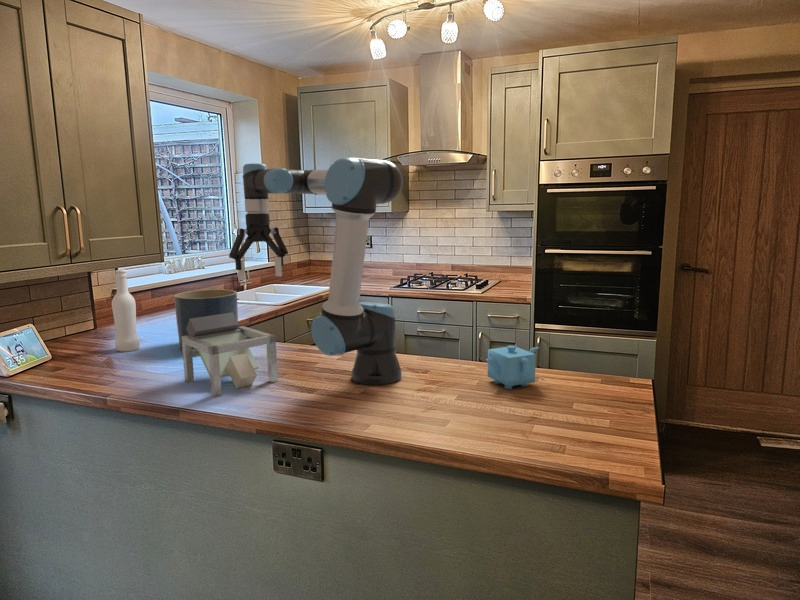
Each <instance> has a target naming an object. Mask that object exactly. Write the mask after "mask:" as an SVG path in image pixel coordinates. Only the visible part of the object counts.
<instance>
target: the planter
mask: <svg viewBox="0 0 800 600" xmlns="http://www.w3.org/2000/svg"><path fill="white" fill-rule="evenodd" d="M173 298H174V306H175V307H174V309H175V317H176V318H175V319H176V326H177V328H176V329H177V335H178V344H179V346H178V347H179V349H180V350H181V351H182V352H183V349H182V337H181V336H187V335H189V334H188V332H187V330H186V328H187V325H188V322H189V319H191V318H198V317H205V316H211V315H218V314H225V313H232V312H233V314H234V315H235V317H236V319H237V321H238V322H239V310H238V293H237V291H236V290H233V289H224V288H223V289H215V288H214V289H199V290H189V291H183V292H180V293H177V294H175V295H174V297H173ZM192 349H196V348H193V347H192Z"/></svg>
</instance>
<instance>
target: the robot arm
mask: <svg viewBox="0 0 800 600" xmlns="http://www.w3.org/2000/svg"><path fill="white" fill-rule="evenodd" d="M242 184H243V195H244V196H243V197H244V211H245V212H246V214H245V226H246V228H237V230H236V237H235V240H234V242H233V245H232V247H231V249H230V253H229V255H228V257H229V259H232V260H235V262H234V263H235V270H237V271H238V281H246V277H245V275H246V274H245V273H246V272H245V271H246V270H245V260H244V259H242V258H243V257H244V256H245V255H246V253H247V252H248V250H249V249H250V247H251V246H252V244H253V243H258V242H261V243H262V242H265V243H266V244H267V245H268V247H269V248H270V249H271V250H272V251H273V253H274V255H276V256H274V265H275V266H274V268H275V277H282V276H283V271H282V268H283V266H284V257H285V256H286V255H288V254H289V251H288V249H287V247H286V245H285V243H284V241H283V239H282V237H281V235H280V231H279V227H278V226H274V227H270V224H271V221H270V213H268V212H270V205H269V203H270V202H269V201H270V200H269V194H270V195H271V194H277V195H278V194H280V195H281V194H284V195H287V194H291V195H292V194H293V195H294V194H297V195H298V194H299V195H301V194H302V195H304V194H305V195H325V196H326V199H327V200H328V201H329V202H330V203H331V210H332V211H333V212H334V213H335V215H336V220H335V228H334V238H333V249H332V259H331V260H332V261H331V270H330V279H329V280H330V281H329V288H328V289H329V290H328V291H329V292H328V299H327V300H326V301H325V302H323V304H321V314H320V315H317V316H315V318H314V319H312V322H311V325H310V331H311V335H312V336H311V337H312V339H313V342H314V343H315V346H316V347H317V349H318V350H319V351H320V352H321V353H322V354H324V355H326V356H332V357H333V356H339V355H340V356H341V355H344V354H346V353H351V352H354V351H356V357H355V361H354V364H353V368H352V369H351V380H352V381H353V382H354V383H357V384H362V385H369V386H381V385H388V384H392V383H397V382H398V381H400V380H401V379H402V368H401V366H400V362H399V359H398V357H397V354H396V320H397V319H396V315H395V313H396V312H395V307H394V306H392V305H391V304H389V303H382V302H371V301H361V302H360V297H361V290H362V281H363V275H364V274H363V272H364V265H365V264H364V263H365V258H366V257H365V256H366V248H367V247H366V246H367V240H368V231H369V223H370V219H371V218H372V217H373V216H374V215H375V214H376V212H377V204H378V205H379V204H380V205H381V204H387V203H390V202H392V201H394V200H395V199H396V198H397V197H399V195H400V194H401V191H402V190H403V186H404V185H403V184H404V178H403V175H402V172H401V170H400V169H399V167H398V166H397V165H396V164H394V163H393V162H392V161H389V160H385V159H371V158H362V157H353V156H351V157H342V158H339V159H337V160H335V161H333V163H332V164H331V165H330V167H329V168H328V169H290V168H283V167H272V168H268V167H267V165H266V164H265V163H255V162H254V163H253V162H252V163H245V164H244V165H243V167H242ZM270 234H272V237H271V236H270ZM246 235H247V237H246V238H245V241H244V242H243V240H244V237H245V236H246ZM272 238H273V239H274V241H275V242H274V241H273V239H272Z"/></svg>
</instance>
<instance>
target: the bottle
mask: <svg viewBox="0 0 800 600" xmlns="http://www.w3.org/2000/svg"><path fill="white" fill-rule="evenodd" d="M114 278H115V283H116V285H115V286H116V293H115V295H114V296H113V298H112V300H111V310H112V315H113V320H114V321H113V322H114V328H115V335H116V336H115V341H114V343H115V349H116V350H117V352H120V353H125V352H127V353H128V352H133V351H137V350H138V349H140V345H141V344H140V339H139V338H140V337H139V336H138V333H137V310H136V309H137V307H136V306H137V305H136V300H135V298H134V296H133V294H131V292H129V288H128V280H127V270H126V269H123V268H122V269H117V270H115V274H114Z"/></svg>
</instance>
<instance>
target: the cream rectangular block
mask: <svg viewBox="0 0 800 600" xmlns="http://www.w3.org/2000/svg"><path fill="white" fill-rule="evenodd" d="M226 368H227V370H228V372H229V377H230V379H231V381H232V382H233V384H234V387H235V389H237V390H238V389H241V388H245V387H248V386H252V385H253V384H254V382H255V379H256V378H257V376H258V374H257V373H256V371H255V370H256V369H255V370H254V368H253V366H252V364H251V362H250V360H249V358H248V356H247V354H241V355H236V356H231V357H230V358H229V361H228V363H227V365H226Z"/></svg>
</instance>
